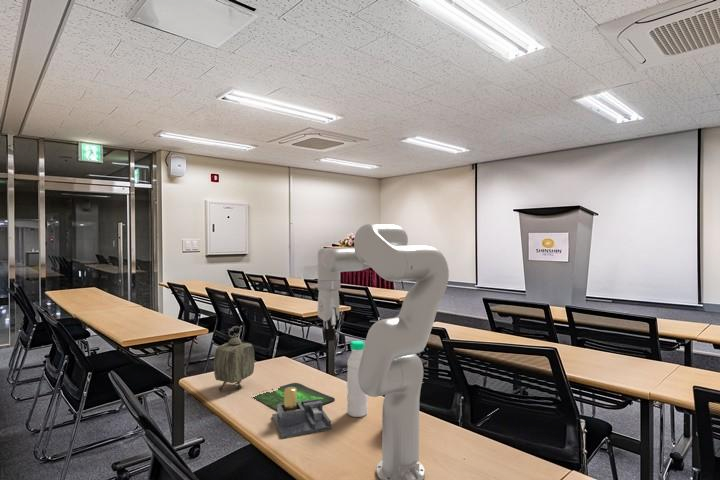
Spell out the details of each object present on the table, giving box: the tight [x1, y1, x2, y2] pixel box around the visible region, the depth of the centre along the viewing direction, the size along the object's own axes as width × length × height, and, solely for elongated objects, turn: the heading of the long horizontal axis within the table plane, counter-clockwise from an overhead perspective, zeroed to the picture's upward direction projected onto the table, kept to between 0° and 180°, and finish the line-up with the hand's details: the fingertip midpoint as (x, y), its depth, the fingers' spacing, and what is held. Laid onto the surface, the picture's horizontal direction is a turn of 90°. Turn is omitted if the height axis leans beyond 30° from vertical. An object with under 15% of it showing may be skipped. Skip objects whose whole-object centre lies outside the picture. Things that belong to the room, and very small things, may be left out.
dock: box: [271, 399, 333, 439], centre depth 137 cm, size 16×16×5 cm
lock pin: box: [308, 406, 322, 421], centre depth 140 cm, size 9×3×3 cm, turn 22°
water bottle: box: [346, 340, 368, 418], centre depth 144 cm, size 7×7×25 cm
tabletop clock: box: [213, 325, 255, 392], centre depth 168 cm, size 14×9×25 cm, turn 154°
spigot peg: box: [284, 387, 297, 412], centre depth 137 cm, size 4×4×10 cm
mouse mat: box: [252, 382, 336, 412], centre depth 158 cm, size 27×22×1 cm
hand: (329, 340), depth 138 cm, fingers closed
